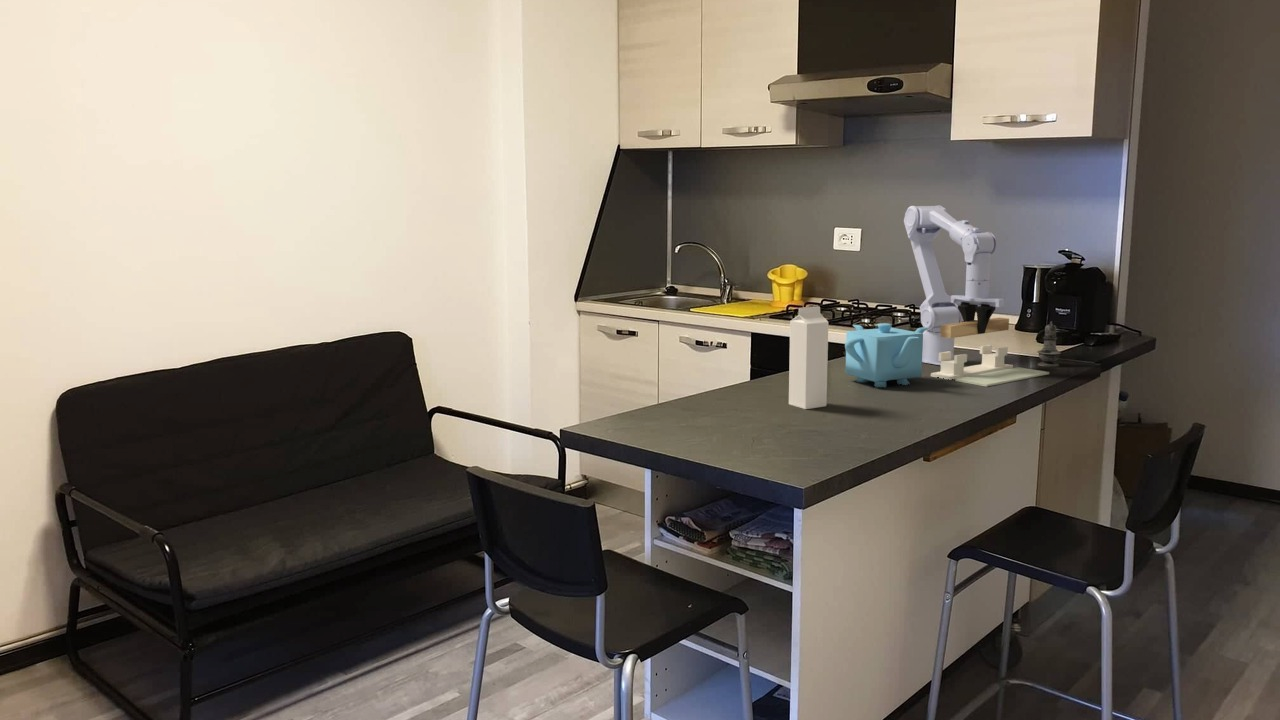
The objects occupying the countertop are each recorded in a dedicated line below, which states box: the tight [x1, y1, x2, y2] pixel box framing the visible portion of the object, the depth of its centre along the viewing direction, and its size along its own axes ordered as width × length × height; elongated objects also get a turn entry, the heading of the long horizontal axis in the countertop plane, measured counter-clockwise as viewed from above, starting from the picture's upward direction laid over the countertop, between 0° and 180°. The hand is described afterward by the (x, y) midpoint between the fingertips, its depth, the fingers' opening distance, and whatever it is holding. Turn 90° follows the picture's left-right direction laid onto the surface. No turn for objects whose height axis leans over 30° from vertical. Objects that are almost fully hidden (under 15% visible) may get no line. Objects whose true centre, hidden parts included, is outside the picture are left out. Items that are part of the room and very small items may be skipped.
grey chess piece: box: [1037, 320, 1062, 368], centre depth 258 cm, size 6×6×12 cm
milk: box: [788, 305, 829, 410], centre depth 212 cm, size 6×6×22 cm
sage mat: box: [954, 366, 1050, 387], centre depth 243 cm, size 9×26×1 cm, turn 125°
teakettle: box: [844, 322, 929, 388], centre depth 238 cm, size 19×19×15 cm
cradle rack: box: [930, 344, 1014, 381], centre depth 250 cm, size 6×26×6 cm, turn 125°
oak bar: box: [941, 317, 1010, 339], centre depth 248 cm, size 3×24×3 cm, turn 125°
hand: (975, 332), depth 248 cm, fingers closed on oak bar, 3 cm apart
